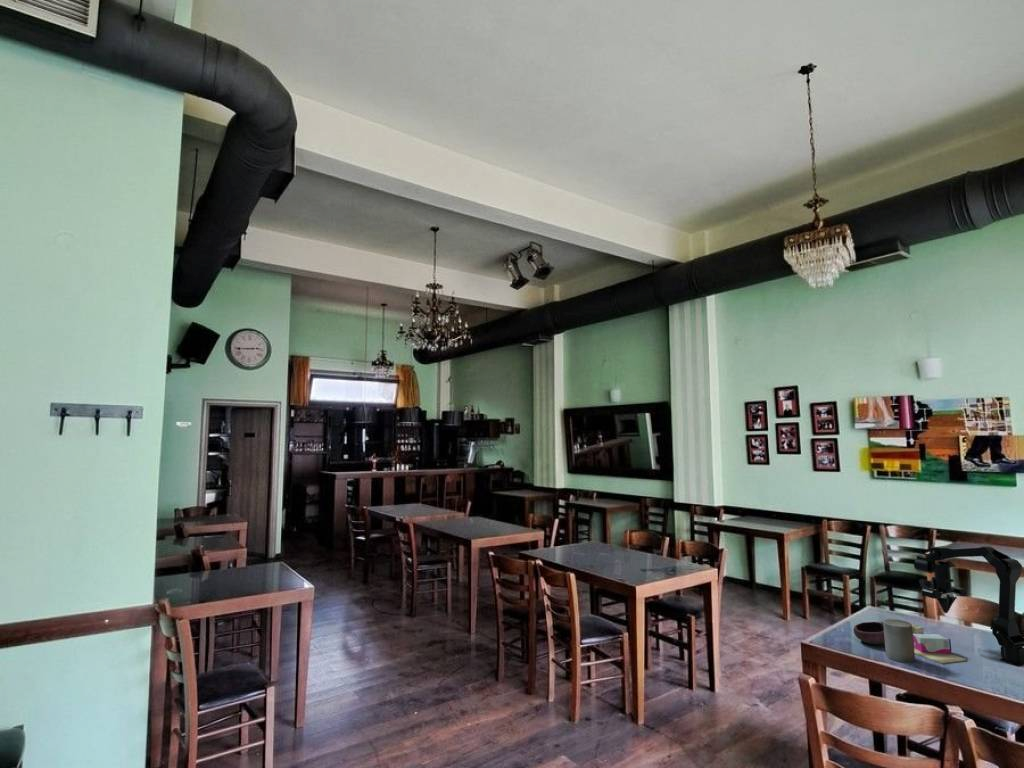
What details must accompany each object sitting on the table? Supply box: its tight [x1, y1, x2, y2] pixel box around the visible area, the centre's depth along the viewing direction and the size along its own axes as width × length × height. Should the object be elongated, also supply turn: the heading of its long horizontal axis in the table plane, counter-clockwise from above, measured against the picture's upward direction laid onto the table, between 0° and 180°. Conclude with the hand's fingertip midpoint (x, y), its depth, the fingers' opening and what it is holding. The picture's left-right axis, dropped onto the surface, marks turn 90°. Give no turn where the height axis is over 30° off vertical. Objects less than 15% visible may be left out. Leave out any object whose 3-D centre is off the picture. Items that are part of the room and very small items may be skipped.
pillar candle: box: [882, 618, 916, 663], centre depth 220 cm, size 10×10×15 cm
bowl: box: [853, 620, 885, 646], centre depth 237 cm, size 16×13×8 cm
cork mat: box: [914, 648, 968, 665], centre depth 222 cm, size 15×13×1 cm
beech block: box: [911, 623, 925, 634], centre depth 233 cm, size 4×4×8 cm
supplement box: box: [913, 633, 953, 654], centre depth 226 cm, size 6×6×12 cm
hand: (945, 612), depth 238 cm, fingers closed
